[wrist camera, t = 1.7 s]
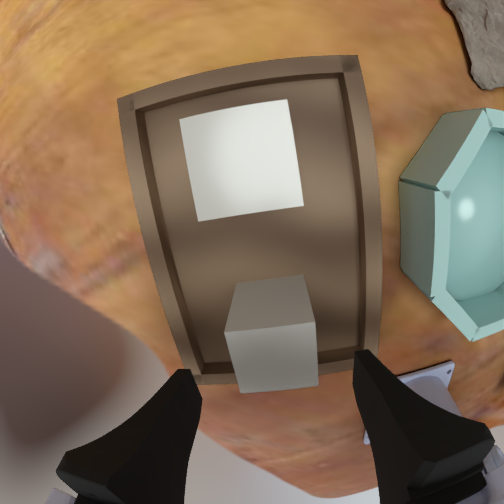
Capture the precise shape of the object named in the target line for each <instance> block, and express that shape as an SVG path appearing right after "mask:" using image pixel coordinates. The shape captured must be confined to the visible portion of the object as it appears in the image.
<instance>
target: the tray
mask: <svg viewBox="0 0 504 504" xmlns="http://www.w3.org/2000/svg"><path fill="white" fill-rule="evenodd" d="M285 99H287V101H288V107H289V112H290V118H291V124H292V129H293V135H294V141H295V148H296V154H297V161H298V167H299V174H300V181H301V188H302V196H303V203H304V206H299V207H291V208H284V209H277V210H270V211H263V212H256V213H250V214H243V215H237V216H230V217H224V218H218V219H211V220H205V221H199V222H198V218H197V213H196V208H195V203H194V198H193V193H192V188H191V183H190V178H189V172H188V167H187V161H186V156H185V150H184V145H183V139H182V133H181V127H180V121H179V119H183V118H187V117H191V116H195V115H199V114H204V113H208V112H213V111H218V110H222V109H228V108H233V107H238V106H244V105H250V104H256V103H263V102H270V101H277V100H285ZM117 104H118V112H119V119H120V126H121V133H122V139H123V146H124V151H125V157H126V163H127V168H128V173H129V179H130V183H131V188H132V193H133V198H134V202H135V207H136V211H137V215H138V220H139V224H140V228H141V232H142V236H143V240H144V244H145V247H146V251H147V255H148V259H149V262H150V266H151V269H152V273H153V276H154V279H155V283H156V286H157V289H158V293H159V296H160V299H161V302H162V305H163V308H164V311H165V315H166V318H167V320H168V323H169V326H170V329H171V332H172V335H173V338H174V341H175V343H176V346H177V349H178V352H179V354H180V357H181V360H182V362H183V365H184V367H185V369H191V372H192V374H193V377H194V380H195V382H196V385H211V384H235V383H238V382H237V378H236V375H235V371H234V368H233V364H232V360H231V356H230V353H229V349H228V345H227V341H226V338H225V334H224V331H225V327H226V323H227V319H228V315H229V311H230V307H231V303H232V299H233V295H234V291H235V287H236V283H241V282H249V281H257V280H265V279H273V278H280V277H288V276H295V275H302V274H303V275H304V279H305V283H306V287H307V291H308V295H309V299H310V303H311V307H312V311H313V315H314V319H315V326H316V342H317V360H318V375H322V374H329V373H335V372H341V371H346V370H352V369H354V351H360V350H365V349H369V350H370V351H371V352H372V353H373V354H374V355H375V356H376V357H377V356H378V346H379V334H380V320H381V302H382V223H381V205H380V191H379V179H378V169H377V160H376V152H375V144H374V137H373V130H372V124H371V118H370V112H369V106H368V101H367V96H366V91H365V86H364V81H363V76H362V72H361V68H360V64H359V59H358V55H331V56H310V57H297V58H286V59H277V60H269V61H262V62H255V63H248V64H242V65H237V66H231V67H226V68H221V69H216V70H212V71H207V72H203V73H199V74H195V75H191V76H187V77H183V78H180V79H176V80H172V81H169V82H166V83H162V84H159V85H156V86H153V87H150V88H147V89H144V90H141V91H138V92H135V93H132V94H129V95H127V96H124V97H121V98H119V99H117Z"/></svg>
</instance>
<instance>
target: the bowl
mask: <svg viewBox="0 0 504 504" xmlns="http://www.w3.org/2000/svg"><path fill="white" fill-rule="evenodd" d="M400 178H401V179H402V180H403V181H399V182H398V184H399V200H400V227H401V260H400V267H401V268H402V272H403V273H404V274H405V275H406V276H407V277H408V278H409V279H410V280H411V281H412V282H413V283H414V284H415V285H416V286H417V287H418V288H419V289H420V290H421V291H422V292H423V293H424V294H425V295H426V296H427V297H428V298H429V299H430V300H431V301H432V302H433V303H434V304H435V305H436V306H437V307H438V308H439V309H440V310H441V311H442V312H443V313H444V314H445V315H446V316H447V317H448V318H449V319H450V321H451V322H452V323H453V324H454V325H455V326H456V327H457V328H458V329H459V330H460V331H461V332H462V333H463V334H464V335H465V336H466V337H467V339H468V340H469V341H471V340H472V342H473V341H476V340H478V339H481V338H484V337H486V336H489V335H491V334H494V333H496V332H499V331H501V330H503V329H504V111H501V110H496V109H490V108H480V109H472V110H464V111H457V112H451V113H445V114H443V115H442V116H441V118H440V119H439V121H438V122H437V124H436V125H435V127H434V128H433V130H432V131H431V133H430V134H429V136H428V137H427V139H426V140H425V142H424V143H423V145H422V146H421V148H420V149H419V150H418V152H417V153H416V155H415V156H414V158H413V159H412V160H411V162H410V163H409V165H408V166H407V167H406V169H405V170H404V172H403V173H402V174H401V176H400Z"/></svg>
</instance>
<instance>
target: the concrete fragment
mask: <svg viewBox="0 0 504 504" xmlns="http://www.w3.org/2000/svg"><path fill="white" fill-rule="evenodd" d="M444 1H445V3H446V5H447V6H448V8H449V9H450V10H451V11H452V12H453V14H454V15H455V17H456V20H457V22H458V23H459V26H460V28H461V31H462V34H463V37H464V40H465V44H466V48H467V50H468V53H469V57H470V60H471V64H472V66H471V74H472V76H473V78H474V80H475V82H476V83H477V84H478V85H479V86H480V87H481V88H482V89H486V90H492V89H494V88H498V87H504V0H444Z"/></svg>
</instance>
